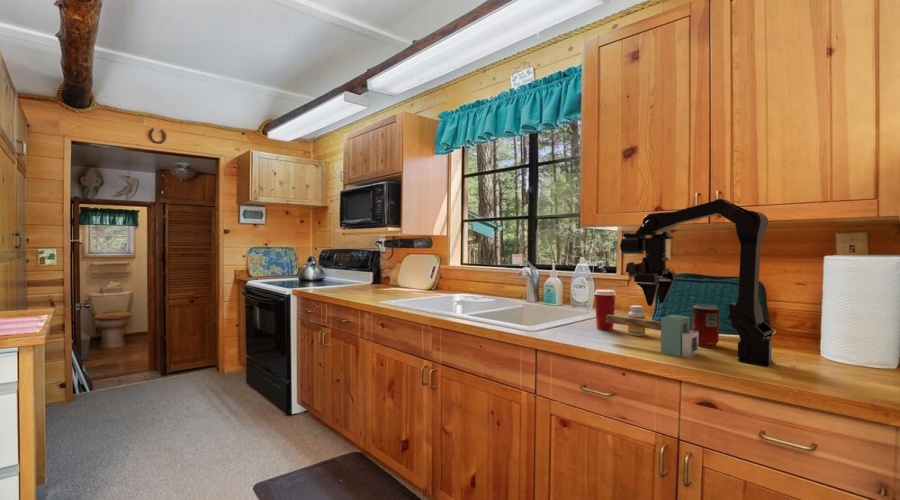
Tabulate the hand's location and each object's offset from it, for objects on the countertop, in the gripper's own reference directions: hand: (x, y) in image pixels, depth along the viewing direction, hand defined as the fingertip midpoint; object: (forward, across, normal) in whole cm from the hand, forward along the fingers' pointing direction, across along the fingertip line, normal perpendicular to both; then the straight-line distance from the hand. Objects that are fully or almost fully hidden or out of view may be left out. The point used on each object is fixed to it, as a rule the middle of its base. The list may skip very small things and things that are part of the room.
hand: (655, 304), depth 132 cm
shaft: (+6, +7, -3) cm, 10 cm away
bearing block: (+12, +7, +8) cm, 16 cm away
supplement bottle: (+12, -9, -10) cm, 18 cm away
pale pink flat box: (+12, +7, +12) cm, 18 cm away
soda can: (+13, -9, +11) cm, 19 cm away
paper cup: (+12, -10, -22) cm, 27 cm away
